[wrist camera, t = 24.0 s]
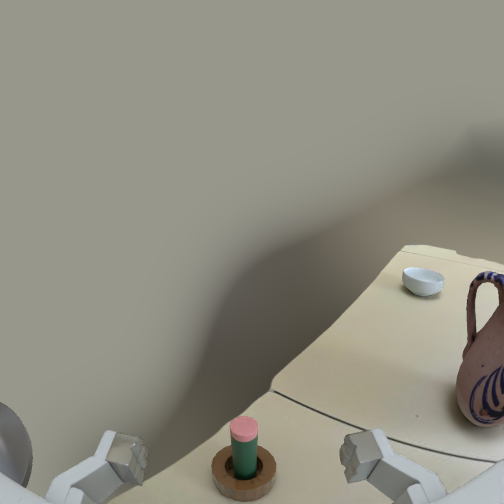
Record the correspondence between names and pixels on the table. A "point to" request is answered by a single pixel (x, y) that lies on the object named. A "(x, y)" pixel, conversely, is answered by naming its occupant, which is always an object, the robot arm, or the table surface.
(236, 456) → the pink-capped green cylinder
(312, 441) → the table surface
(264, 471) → the brown hollow cylinder
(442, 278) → the cereal bowl
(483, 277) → the ceramic pitcher
